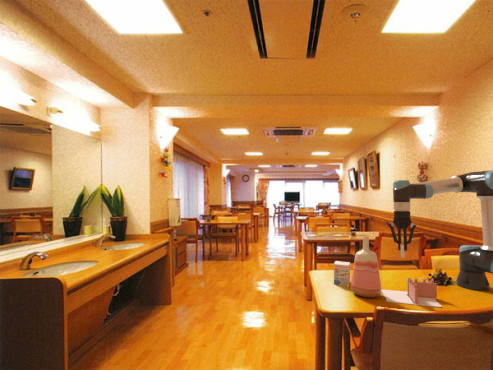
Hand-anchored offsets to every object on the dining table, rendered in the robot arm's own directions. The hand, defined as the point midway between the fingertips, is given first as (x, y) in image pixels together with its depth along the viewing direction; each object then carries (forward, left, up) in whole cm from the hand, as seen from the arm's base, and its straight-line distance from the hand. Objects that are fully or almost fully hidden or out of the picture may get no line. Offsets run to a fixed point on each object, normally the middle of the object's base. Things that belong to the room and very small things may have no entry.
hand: (402, 257), depth 146 cm
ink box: (+29, -14, -20) cm, 38 cm away
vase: (+18, +3, -20) cm, 27 cm away
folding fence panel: (-3, +5, -19) cm, 20 cm away
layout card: (-2, +2, -20) cm, 20 cm away
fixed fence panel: (-9, -2, -19) cm, 21 cm away
